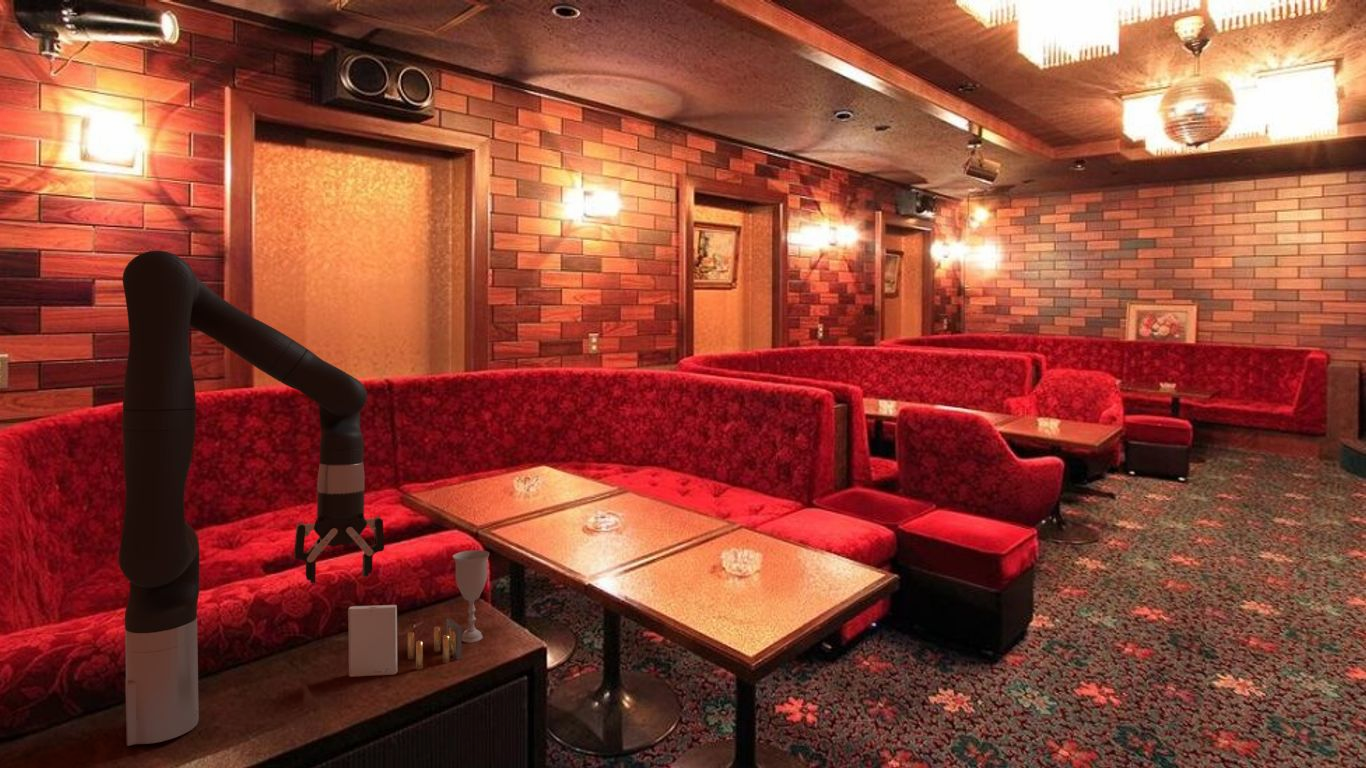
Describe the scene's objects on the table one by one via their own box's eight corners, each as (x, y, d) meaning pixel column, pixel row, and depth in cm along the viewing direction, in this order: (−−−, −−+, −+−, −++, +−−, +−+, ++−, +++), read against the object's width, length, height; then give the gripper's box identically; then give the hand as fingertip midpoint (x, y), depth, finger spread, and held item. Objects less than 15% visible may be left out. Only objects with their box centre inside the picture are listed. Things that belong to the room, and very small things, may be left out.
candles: (417, 670, 132) (417, 637, 132) (406, 658, 137) (406, 626, 137) (462, 658, 138) (462, 627, 137) (451, 648, 143) (451, 617, 142)
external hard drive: (395, 674, 130) (395, 607, 130) (348, 677, 129) (347, 609, 129) (397, 670, 132) (397, 604, 132) (351, 673, 131) (350, 606, 131)
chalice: (480, 633, 151) (480, 548, 150) (496, 642, 146) (496, 555, 145) (447, 642, 146) (446, 554, 145) (462, 652, 141) (461, 561, 140)
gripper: (297, 494, 120) (295, 590, 120) (387, 488, 128) (386, 579, 128) (294, 487, 126) (292, 578, 127) (380, 482, 134) (378, 568, 134)
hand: (339, 578), depth 127 cm, fingers open, 8 cm apart
